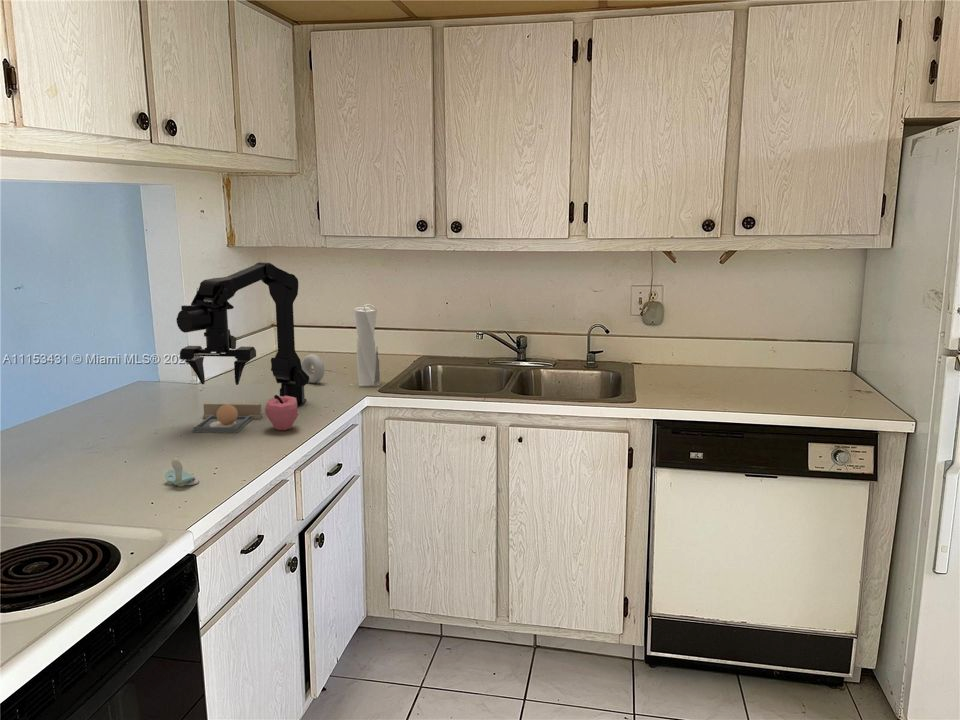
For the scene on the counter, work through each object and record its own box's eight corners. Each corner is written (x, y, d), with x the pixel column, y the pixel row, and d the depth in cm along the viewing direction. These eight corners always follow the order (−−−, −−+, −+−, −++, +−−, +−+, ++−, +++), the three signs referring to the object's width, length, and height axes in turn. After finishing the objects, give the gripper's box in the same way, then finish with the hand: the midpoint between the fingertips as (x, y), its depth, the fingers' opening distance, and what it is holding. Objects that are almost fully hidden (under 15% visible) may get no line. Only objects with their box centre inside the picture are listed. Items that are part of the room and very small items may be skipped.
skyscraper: (380, 387, 241) (378, 304, 235) (355, 388, 240) (353, 304, 234) (380, 381, 249) (378, 301, 243) (356, 382, 248) (354, 301, 242)
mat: (251, 419, 204) (251, 415, 203) (237, 432, 192) (237, 428, 192) (209, 419, 204) (209, 415, 203) (192, 432, 192) (192, 427, 192)
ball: (235, 424, 201) (243, 407, 199) (228, 430, 195) (236, 413, 194) (217, 415, 200) (225, 398, 199) (210, 421, 195) (218, 404, 194)
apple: (298, 433, 192) (296, 397, 190) (264, 435, 190) (262, 398, 188) (300, 423, 201) (299, 388, 199) (268, 424, 200) (266, 389, 198)
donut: (327, 384, 245) (326, 355, 243) (319, 386, 242) (318, 357, 240) (307, 379, 251) (306, 351, 249) (299, 381, 248) (298, 353, 246)
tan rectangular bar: (262, 416, 207) (262, 402, 206) (259, 419, 204) (258, 405, 203) (207, 415, 207) (206, 402, 206) (203, 418, 204) (202, 404, 203)
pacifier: (188, 476, 162) (162, 482, 157) (187, 449, 161) (160, 455, 156) (205, 484, 157) (178, 491, 153) (204, 456, 156) (177, 463, 152)
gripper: (261, 323, 200) (263, 378, 203) (193, 322, 200) (197, 377, 203) (248, 329, 189) (251, 387, 192) (176, 328, 189) (181, 386, 192)
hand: (220, 384), depth 195 cm, fingers open, 9 cm apart
